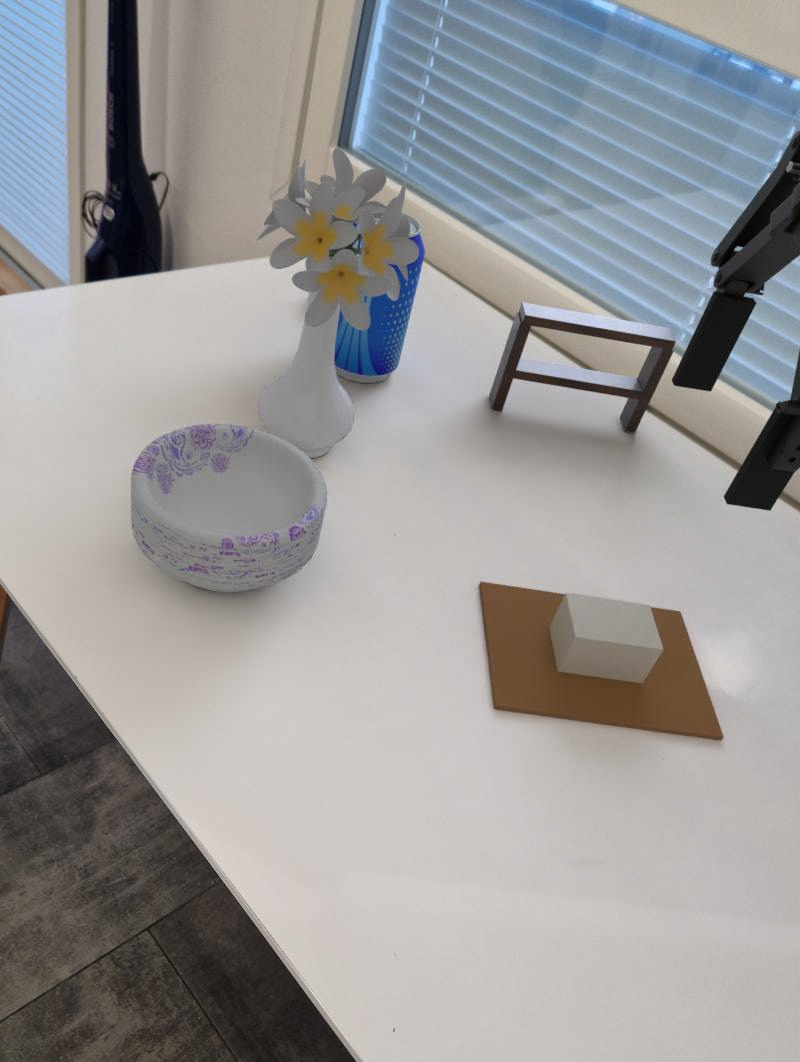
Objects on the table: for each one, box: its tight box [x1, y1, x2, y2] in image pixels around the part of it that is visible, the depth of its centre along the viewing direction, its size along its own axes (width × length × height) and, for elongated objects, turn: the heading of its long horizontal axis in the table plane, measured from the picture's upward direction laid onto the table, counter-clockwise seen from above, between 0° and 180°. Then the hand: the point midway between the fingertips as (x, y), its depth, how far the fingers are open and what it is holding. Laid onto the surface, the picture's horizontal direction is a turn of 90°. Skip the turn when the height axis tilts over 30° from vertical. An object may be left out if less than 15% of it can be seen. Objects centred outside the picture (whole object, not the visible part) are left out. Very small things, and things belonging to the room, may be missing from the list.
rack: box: [488, 301, 677, 434], centre depth 96 cm, size 16×3×11 cm, turn 87°
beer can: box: [335, 212, 426, 384], centre depth 94 cm, size 8×8×16 cm
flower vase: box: [255, 147, 419, 459], centre depth 79 cm, size 13×18×25 cm
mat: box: [479, 581, 724, 741], centre depth 73 cm, size 18×14×1 cm
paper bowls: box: [130, 423, 328, 593], centre depth 72 cm, size 15×15×8 cm
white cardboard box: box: [549, 592, 663, 683], centre depth 71 cm, size 7×5×4 cm
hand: (716, 440), depth 58 cm, fingers open, 13 cm apart
